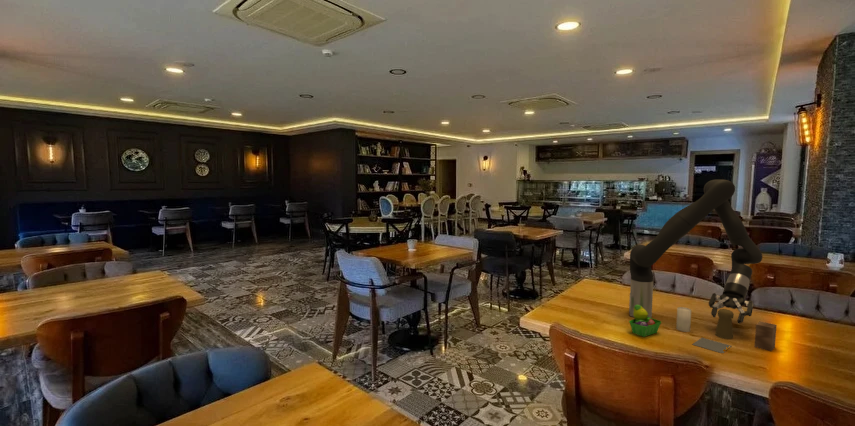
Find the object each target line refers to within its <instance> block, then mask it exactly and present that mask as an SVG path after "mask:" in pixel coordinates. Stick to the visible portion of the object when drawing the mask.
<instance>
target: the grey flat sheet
mask: <svg viewBox="0 0 855 426" xmlns="http://www.w3.org/2000/svg"><path fill="white" fill-rule="evenodd" d="M691 345H693V346H695V347H699V348H702V349H706V350H709V351H712V352H716V353H720V354H722V353H723V354H724V353H725V352H724V351H723V350H724V349H725V350H726V347H727V348H728V347H729V346H730V348H732V345H731V344H727V343H723V342H719V341H717V340H716V341H715V340H713V339H709V338H704V337H701V338H699V339H697V340H696V341H694V342H693V343H692V344H691Z"/></svg>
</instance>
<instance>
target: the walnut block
mask: <svg viewBox="0 0 855 426" xmlns="http://www.w3.org/2000/svg"><path fill="white" fill-rule="evenodd" d="M754 336H755V337H754V348H757V347H758V348H757V349H760V348H761V350H764V349H765V351H769V352H772V351H773V350H774V349H775V348H776V337H777V324H774V323H770V322H766V321H758V322H757V323H756V324H755V334H754Z"/></svg>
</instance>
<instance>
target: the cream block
mask: <svg viewBox="0 0 855 426" xmlns="http://www.w3.org/2000/svg"><path fill="white" fill-rule="evenodd" d="M691 320H692V309H690V308H689V307H686V306H685V307H683V306H679V307H677V308H676V324H675V325H676V328H675V329H676V330H677V331H679V332H685V333H686V332H687V333H688V332H689V333H690V332H691V323H692V322H691Z"/></svg>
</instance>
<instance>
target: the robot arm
mask: <svg viewBox="0 0 855 426" xmlns="http://www.w3.org/2000/svg"><path fill="white" fill-rule="evenodd" d="M735 191H736V186H735V184H734V183H733V182H732V181H730V180H728V179H712V180H709V181H707V182H706V183H705V184H704V186H703V193H704V194H703V195H702V196H700V197H699V199H697V200H696V201H694V202H693V203H690V204H688V205H687V206H685V207H683V208H682V209H680V210H678V211H677V212H676V213H675V214H674V215H672V216H671V217H670V218H669V219H668V220H667V221H666V222H665V223H664V225H662V227H661V229H660V230H659V233H658V234H657V235H656V236H655V238H653V239H652V240H651V241H650V242H648V243H647V244H646V245H645V244H637V245H635V246H633V248H632V249H631V250H630V253H629V273H630V289H629V290H630V293H629V304H628V307H629V308H628V313H629V316H630V317H633V318H634V315H633V312H634V306H635V305H640V306H642V307H643V308H644V309H645V310H646V311H647V313H648V316H647V317H650V318H653V316H652V315H653V299H654V298H653V296H654V295H653V294H654V274H653V270H652V266H653V265H655V263H656V262H657V261H659V259H660V258H661V257H663V255H664V254H665V253H666V252H667V251H668V250H669V249H671V247H673V246H674V245H675V244H677V242H679V241H680V240H681V239H682V238H684V237H685V236H686V235H687V234H689V233H690V231H692V230H693V229H694V228H695V227H696V226H697V225H698V224H700V222H702V221H703V220H704V219H705V218H706V217H707V216H708V215H710V213H711V212H714V211H715V212H716V215H717V216H718V218H719V220H720V222H721V224H722V226H723V228H724V232H725V233H726V235H727V238H728V240H729V242H730V244H731V245H733V246H739V247H740V248H735V249H734V250H733V251H732V252H731V254H730V255H731V269H730V273H729V275H728V278H727V280H726V282H725V285H724V288H723V291H722V293H721V295H718V294H716V292H714V293H712V294H711V297H710V299H709V301H708V306H709V308H710V309H711V312H710V314H711V317H712V318H716V317H717V315H718V311H719V310H720V309H724V308H727V309H728V308H729V309H733V310H736V309H737V310H738V312H739V313H738V318H737V321H736V322H737V324H739V325H740V324H741V323H744V319H745V317H747V316H748V317H752V313H753V310H754V309H753V308H754V301H753V300H750V299H749V300H746V296H747V294H748V291H749V288H750V282H751V278H752V275H753V269H752V267H751V266H749V265H752V264H753V265H754V264H757V265H758V264H760V263H761V262H762V260H763V253H762V251H761V249H760V248H759V247H758V246H757V244H756V243H755V242H754V241H753V239H751V237H750V236H749V235H750V234H749V233H748V230H747V229H746V226H745V225H744V223H743V221H742V219H741V218H740V217H739V216H738V214H737V213H736V211H735V210H734V209H733V207H732V206H731V203H730V201H729V200H730V199H731V198H732V197H733V196H734V194H735ZM719 299H720V300H719ZM718 300H719V301H718ZM716 301H717V302H716ZM744 305H745V306H746V310H744V309H743V307H742V306H744Z"/></svg>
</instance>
